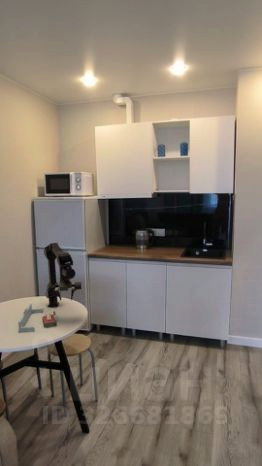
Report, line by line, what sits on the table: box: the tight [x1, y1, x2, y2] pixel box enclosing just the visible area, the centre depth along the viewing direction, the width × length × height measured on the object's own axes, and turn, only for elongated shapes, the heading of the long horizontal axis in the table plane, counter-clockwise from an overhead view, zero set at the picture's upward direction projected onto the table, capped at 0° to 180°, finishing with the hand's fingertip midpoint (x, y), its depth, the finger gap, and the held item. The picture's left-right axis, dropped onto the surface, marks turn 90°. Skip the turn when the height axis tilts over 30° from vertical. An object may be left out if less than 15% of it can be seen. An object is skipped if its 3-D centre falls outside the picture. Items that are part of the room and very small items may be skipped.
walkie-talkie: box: [41, 310, 59, 329], centre depth 187 cm, size 9×4×20 cm
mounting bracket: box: [17, 303, 44, 333], centre depth 186 cm, size 26×8×7 cm, turn 5°
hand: (66, 300), depth 186 cm, fingers open, 6 cm apart
